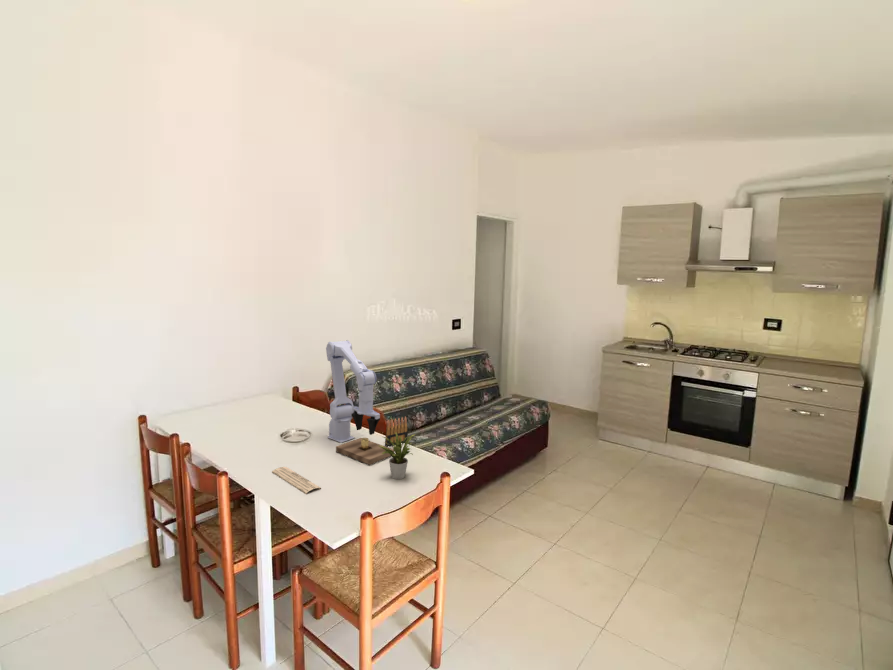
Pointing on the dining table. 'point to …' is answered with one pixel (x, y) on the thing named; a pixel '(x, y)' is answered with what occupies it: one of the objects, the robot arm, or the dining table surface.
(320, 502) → the dining table surface
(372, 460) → the walnut socket board
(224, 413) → the dining table surface
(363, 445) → the brass peg
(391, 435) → the ammunition clip
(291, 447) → the dining table surface
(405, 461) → the house plant
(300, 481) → the wooden slat
